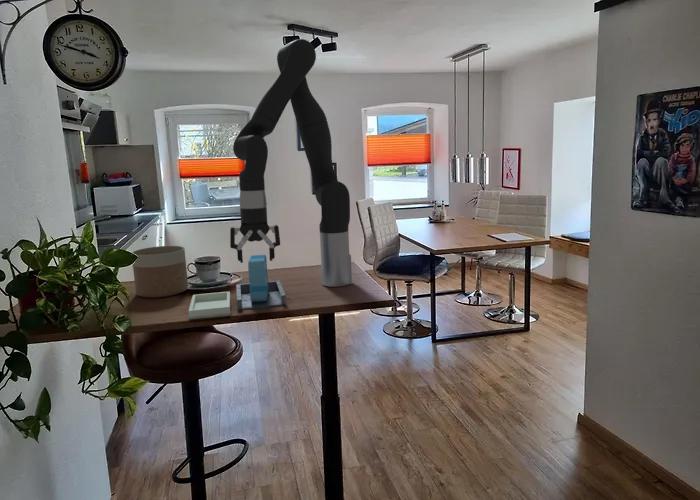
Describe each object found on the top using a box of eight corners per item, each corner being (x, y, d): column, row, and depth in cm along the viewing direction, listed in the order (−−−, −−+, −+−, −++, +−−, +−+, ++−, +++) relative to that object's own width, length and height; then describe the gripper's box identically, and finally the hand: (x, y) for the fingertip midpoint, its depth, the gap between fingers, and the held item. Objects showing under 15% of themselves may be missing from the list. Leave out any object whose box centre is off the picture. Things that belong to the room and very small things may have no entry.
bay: (280, 289, 166) (279, 280, 165) (286, 305, 148) (285, 295, 148) (237, 293, 163) (236, 284, 162) (237, 310, 145) (236, 299, 145)
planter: (187, 283, 179) (183, 244, 176) (190, 294, 164) (185, 251, 161) (137, 289, 173) (132, 248, 171) (135, 301, 159) (130, 257, 156)
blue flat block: (266, 302, 150) (264, 261, 148) (250, 303, 149) (247, 262, 147) (268, 291, 162) (266, 253, 159) (253, 292, 161) (251, 254, 159)
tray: (230, 299, 157) (229, 291, 156) (230, 315, 141) (229, 306, 140) (193, 302, 155) (192, 294, 154) (189, 319, 139) (188, 310, 138)
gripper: (277, 204, 156) (279, 257, 159) (228, 205, 153) (231, 260, 156) (279, 206, 148) (281, 262, 151) (227, 208, 146) (231, 265, 149)
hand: (256, 261), depth 154 cm, fingers open, 8 cm apart
